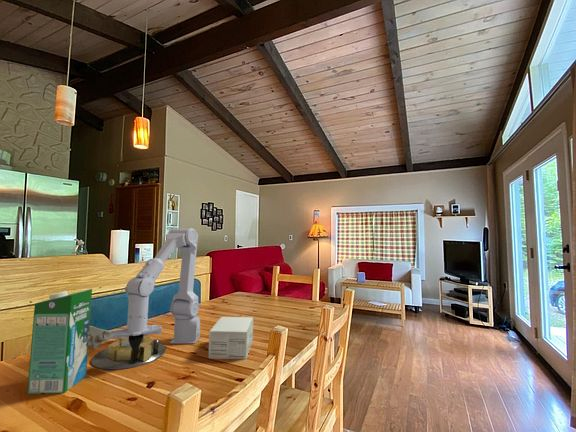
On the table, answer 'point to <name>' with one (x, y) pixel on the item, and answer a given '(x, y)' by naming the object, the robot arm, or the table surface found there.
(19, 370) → the table surface
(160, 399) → the table surface
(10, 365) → the table surface
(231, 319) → the supplement box
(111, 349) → the golden segmented ring
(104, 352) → the cap base
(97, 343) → the wrench
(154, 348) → the stop pin
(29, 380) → the milk carton
